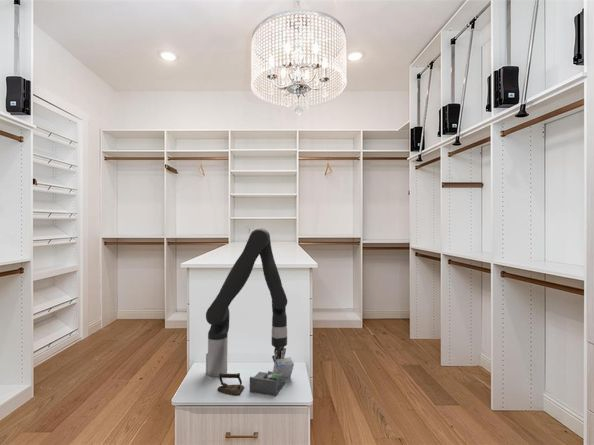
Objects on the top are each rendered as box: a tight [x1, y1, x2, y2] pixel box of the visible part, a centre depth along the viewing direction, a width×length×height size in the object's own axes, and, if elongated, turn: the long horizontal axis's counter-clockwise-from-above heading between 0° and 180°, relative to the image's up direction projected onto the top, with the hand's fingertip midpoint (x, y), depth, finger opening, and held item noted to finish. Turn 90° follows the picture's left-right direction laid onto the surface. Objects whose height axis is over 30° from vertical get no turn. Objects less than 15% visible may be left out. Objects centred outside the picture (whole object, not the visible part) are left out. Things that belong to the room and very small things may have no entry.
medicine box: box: [272, 357, 295, 380], centre depth 155 cm, size 8×4×9 cm, turn 115°
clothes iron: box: [217, 372, 245, 397], centre depth 143 cm, size 7×11×10 cm, turn 83°
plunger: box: [265, 370, 277, 380], centre depth 147 cm, size 7×9×4 cm
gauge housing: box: [249, 371, 286, 397], centre depth 146 cm, size 12×11×6 cm
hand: (279, 371), depth 160 cm, fingers closed
